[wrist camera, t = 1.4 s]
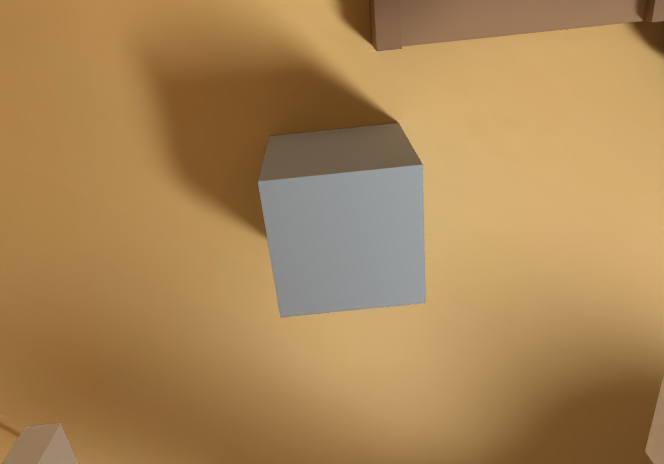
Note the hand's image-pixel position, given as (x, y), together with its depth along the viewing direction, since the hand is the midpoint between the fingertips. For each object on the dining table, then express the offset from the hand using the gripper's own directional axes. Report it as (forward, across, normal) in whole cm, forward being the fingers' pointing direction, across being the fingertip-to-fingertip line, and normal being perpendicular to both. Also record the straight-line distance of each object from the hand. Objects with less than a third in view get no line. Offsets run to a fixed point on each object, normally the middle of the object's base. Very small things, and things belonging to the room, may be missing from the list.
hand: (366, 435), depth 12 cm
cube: (+16, 0, 0) cm, 16 cm away
